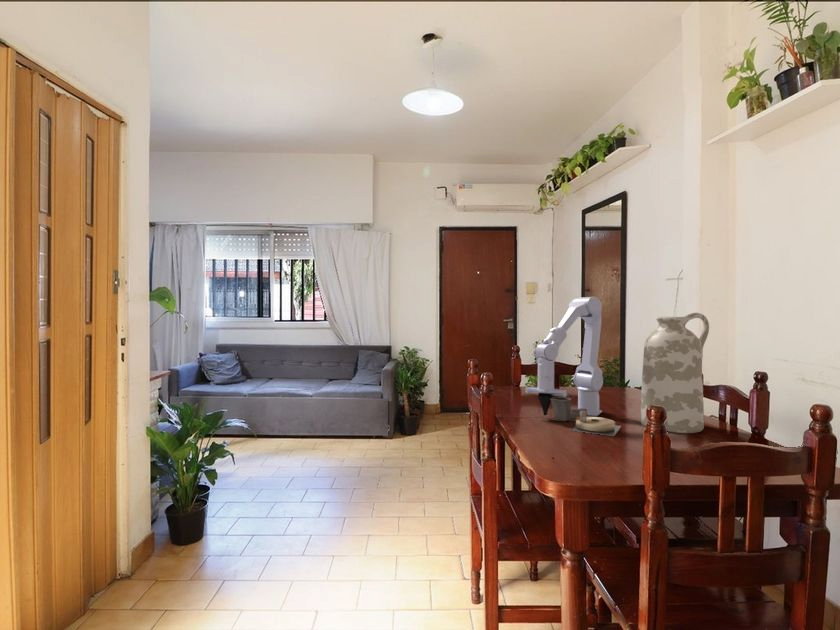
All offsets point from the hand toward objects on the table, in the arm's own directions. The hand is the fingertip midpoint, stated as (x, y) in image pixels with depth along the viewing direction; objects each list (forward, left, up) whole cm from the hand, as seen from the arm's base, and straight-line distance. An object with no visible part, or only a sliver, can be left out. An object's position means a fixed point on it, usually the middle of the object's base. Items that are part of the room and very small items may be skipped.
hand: (545, 414), depth 168 cm
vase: (-11, +40, -2) cm, 42 cm away
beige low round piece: (+5, +18, -2) cm, 19 cm away
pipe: (-2, +8, -2) cm, 8 cm away
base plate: (+5, +19, -2) cm, 19 cm away
